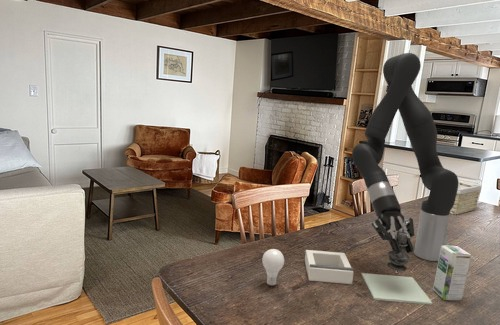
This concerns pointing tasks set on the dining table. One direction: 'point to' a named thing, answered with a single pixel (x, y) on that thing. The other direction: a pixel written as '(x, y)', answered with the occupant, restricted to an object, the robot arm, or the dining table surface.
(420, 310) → the dining table surface
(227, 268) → the dining table surface
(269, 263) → the lightbulb
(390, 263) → the grey chess piece
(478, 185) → the storage basket
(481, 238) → the dining table surface
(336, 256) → the holder
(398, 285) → the mat
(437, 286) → the syrup box
